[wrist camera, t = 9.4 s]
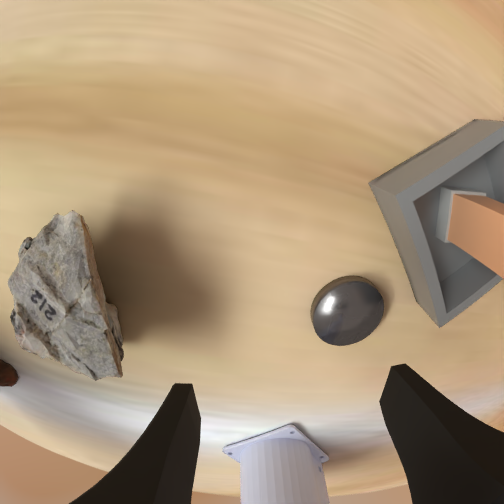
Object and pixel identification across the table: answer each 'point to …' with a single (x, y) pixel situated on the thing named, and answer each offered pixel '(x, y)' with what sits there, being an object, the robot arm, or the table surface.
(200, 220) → the table surface
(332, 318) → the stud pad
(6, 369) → the sculpture
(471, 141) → the bin
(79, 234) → the mineral specimen
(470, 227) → the strut
